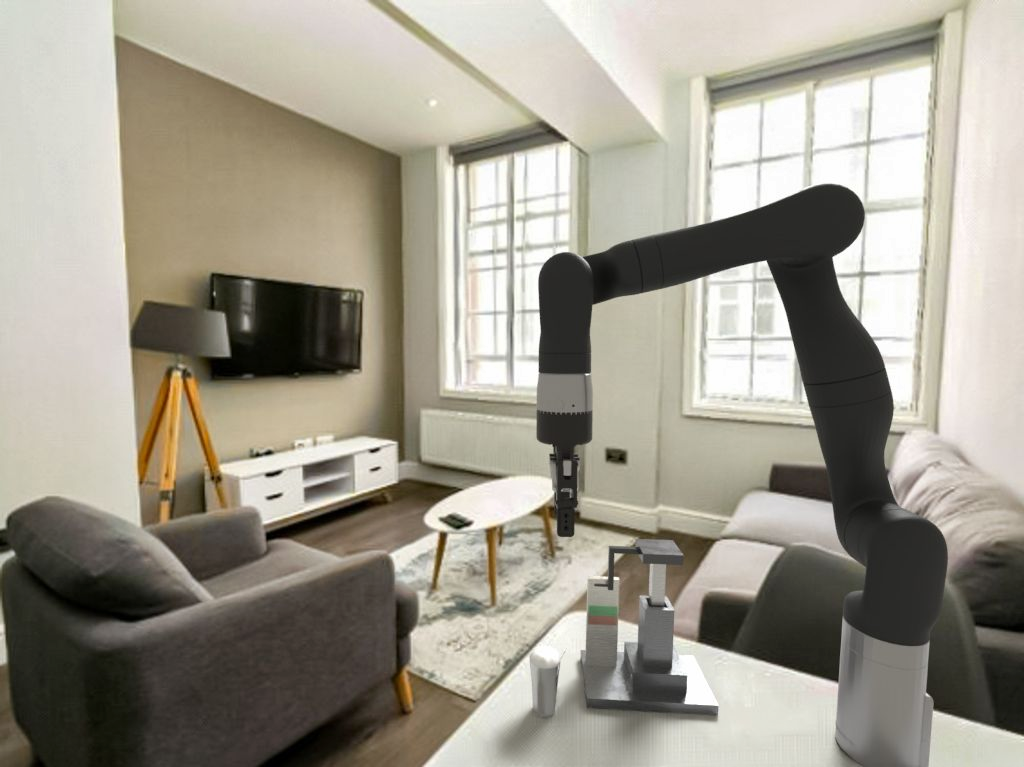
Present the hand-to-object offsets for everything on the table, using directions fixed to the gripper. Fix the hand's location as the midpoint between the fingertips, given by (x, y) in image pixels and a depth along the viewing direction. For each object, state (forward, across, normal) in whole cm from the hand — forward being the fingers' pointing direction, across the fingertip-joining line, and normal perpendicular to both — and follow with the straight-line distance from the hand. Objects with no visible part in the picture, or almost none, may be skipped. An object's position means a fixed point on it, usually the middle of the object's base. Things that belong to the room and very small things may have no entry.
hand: (563, 524), depth 69 cm
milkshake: (+29, +3, +2) cm, 29 cm away
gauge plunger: (+18, +10, -13) cm, 24 cm away
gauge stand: (+29, +10, -13) cm, 34 cm away
